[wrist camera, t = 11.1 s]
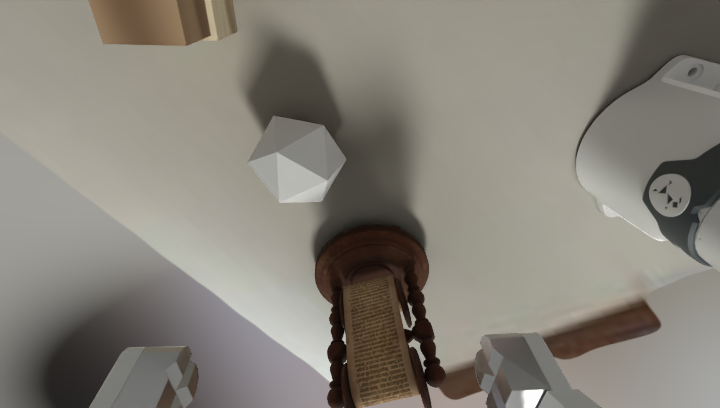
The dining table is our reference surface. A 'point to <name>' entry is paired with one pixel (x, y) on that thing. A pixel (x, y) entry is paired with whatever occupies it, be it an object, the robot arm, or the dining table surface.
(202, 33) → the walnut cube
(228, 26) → the oak cube
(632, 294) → the dining table surface
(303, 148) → the die
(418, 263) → the scroll
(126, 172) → the dining table surface
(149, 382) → the robot arm
